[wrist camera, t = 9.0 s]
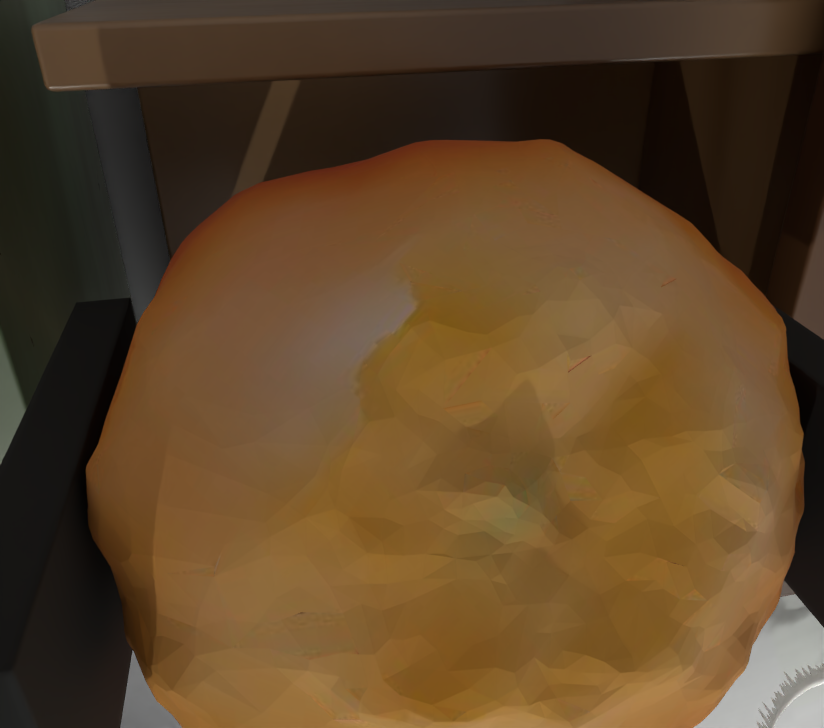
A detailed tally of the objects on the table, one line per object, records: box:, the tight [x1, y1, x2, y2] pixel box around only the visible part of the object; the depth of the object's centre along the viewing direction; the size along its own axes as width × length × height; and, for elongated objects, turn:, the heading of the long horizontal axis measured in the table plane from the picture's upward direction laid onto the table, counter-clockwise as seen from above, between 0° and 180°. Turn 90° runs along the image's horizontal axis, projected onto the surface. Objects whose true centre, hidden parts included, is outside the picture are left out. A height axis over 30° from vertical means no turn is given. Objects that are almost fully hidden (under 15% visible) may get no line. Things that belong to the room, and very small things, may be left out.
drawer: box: [0, 0, 824, 465], centre depth 16 cm, size 20×11×9 cm, turn 91°
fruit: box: [86, 139, 805, 728], centre depth 10 cm, size 8×8×8 cm
